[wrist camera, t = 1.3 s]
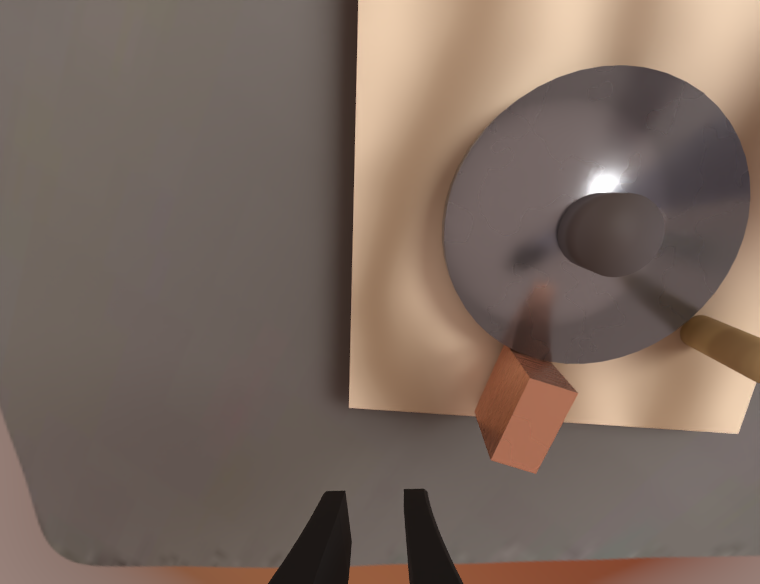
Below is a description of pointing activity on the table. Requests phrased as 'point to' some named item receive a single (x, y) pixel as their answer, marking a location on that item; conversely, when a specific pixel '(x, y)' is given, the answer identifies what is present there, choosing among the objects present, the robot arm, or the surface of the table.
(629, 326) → the flange
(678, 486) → the table surface
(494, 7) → the base plate
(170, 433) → the table surface
